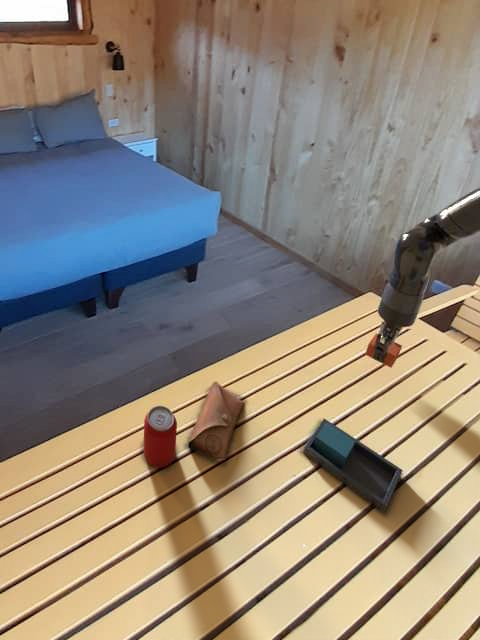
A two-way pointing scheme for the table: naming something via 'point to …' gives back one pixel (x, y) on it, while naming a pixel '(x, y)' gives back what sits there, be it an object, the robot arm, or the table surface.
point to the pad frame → (360, 470)
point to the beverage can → (160, 436)
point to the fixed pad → (334, 445)
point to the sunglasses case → (216, 423)
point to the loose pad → (390, 355)
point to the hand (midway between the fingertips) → (381, 354)
